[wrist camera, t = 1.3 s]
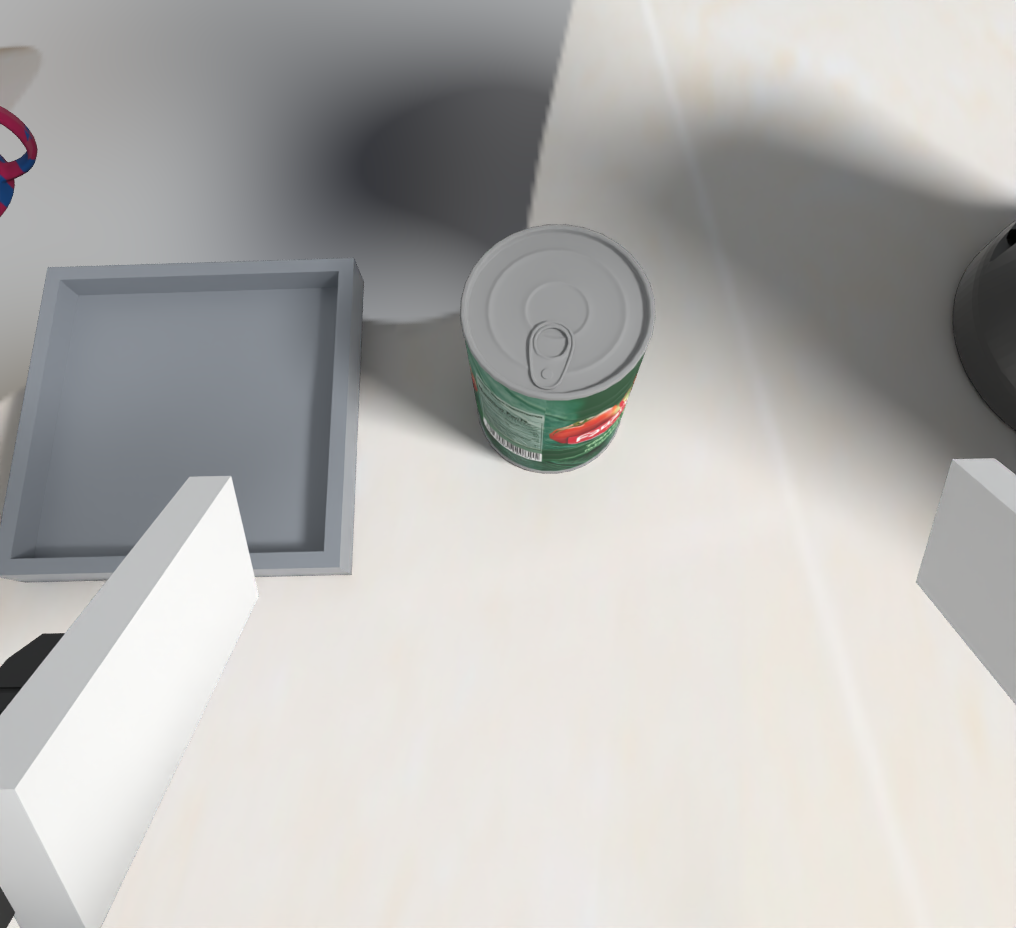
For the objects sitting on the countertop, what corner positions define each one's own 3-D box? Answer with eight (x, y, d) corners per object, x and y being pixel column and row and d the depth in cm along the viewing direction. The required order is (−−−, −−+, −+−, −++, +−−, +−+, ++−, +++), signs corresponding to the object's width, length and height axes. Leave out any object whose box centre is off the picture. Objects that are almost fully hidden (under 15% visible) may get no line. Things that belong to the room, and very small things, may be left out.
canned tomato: (490, 331, 41) (477, 211, 31) (629, 349, 41) (665, 233, 30) (466, 464, 39) (443, 383, 28) (612, 485, 38) (645, 411, 28)
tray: (363, 281, 42) (353, 257, 40) (351, 574, 37) (339, 567, 35) (74, 290, 43) (47, 267, 40) (25, 582, 38) (-9, 575, 35)
